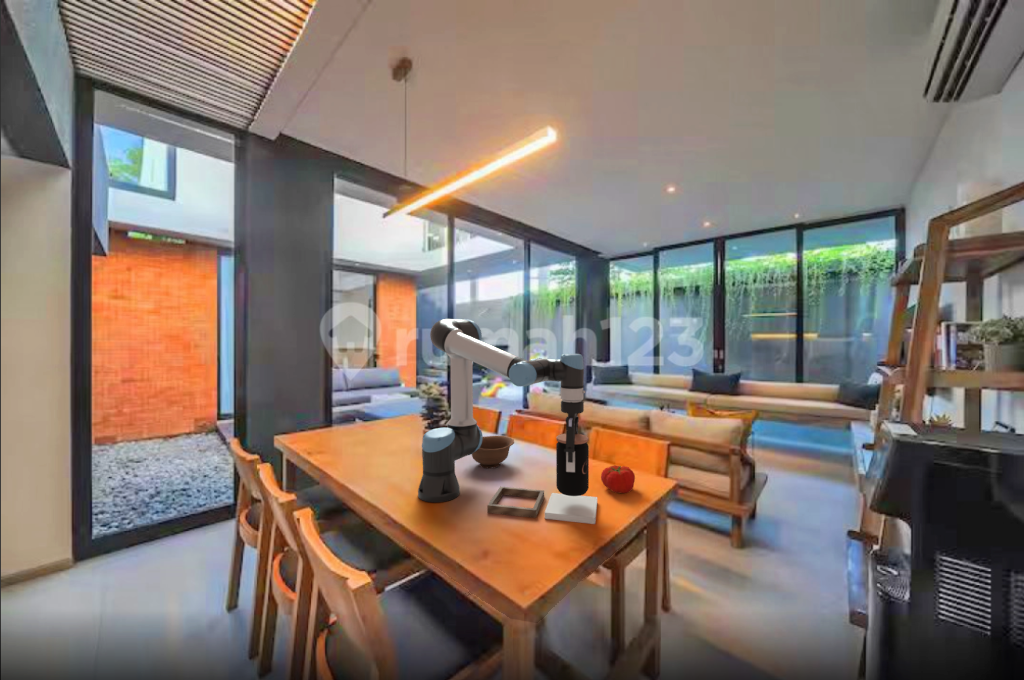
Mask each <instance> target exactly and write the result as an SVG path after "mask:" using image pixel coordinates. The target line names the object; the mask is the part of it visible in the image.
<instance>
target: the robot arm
mask: <svg viewBox="0 0 1024 680" xmlns="http://www.w3.org/2000/svg"><path fill="white" fill-rule="evenodd" d="M429 335H430V336H429V338H430V341H431V343H432V344H433V346H434V347H435V348H436V349H438V350H439V351H442V352H444V353H446V355H447V356H448V357H449V358H450V419H449V420H448V421H447V423H446V426H447V427H438V428H433V429H429V430H428V431H427V432H425V433H424V434H423V436H422V443H421V448H422V449H421V450H422V451H421V453H422V477H421V480H420V483H419V485H418V489H417V497H418V499H420V500H421V501H423V502H426V503H427V502H428V503H444V502H449V501H451V500H455V499H457V498H458V497H459V496H460V493H461V491H460V489H461V488H460V487H461V486H460V484H459V481H458V478H457V475H456V472H455V471H456V466H455V465H456V464H455V463H456V461H457V460H460V459H462V458H465V457H467V456H472V453H474V452H475V451H477V450H478V449H479V448H480V446H481V444H482V439H483V437H484V436H483V432H482V430H481V428H480V426H479V425H478V424H477V423H478V422H477V420H476V419H475V418H474V407H473V406H474V405H473V402H474V398H473V396H474V393H473V391H474V390H473V389H474V388H473V387H474V386H473V385H474V384H473V381H474V380H473V377H474V376H473V374H474V373H473V363H475V364H477V365H480V366H482V367H484V368H487V369H488V370H490V371H492V372H495V373H497V374H499V375H501V376H504V377H506V378H509V380H510V382H511V383H512V385H514V386H516V387H528V386H531V385H535V384H538V383H542V382H560V399H561V401H560V411H561V413H564V414H567V416H566V418H565V430H566V432H565V434H566V449H564V452H566V472H575V450H574V446H575V434H579V420H580V419H579V414H583V412H584V410H585V409H584V408H585V407H584V406H585V405H584V404H585V402H584V401H583V400H584V394H586V390H584V387H585V386H584V376H585V375H584V371H585V370H584V369H585V366H584V365H585V364H584V357H583V355H582V354H580V353H562V354H561V355H560V358H559V359H554V358H553V359H552V358H540V357H539V358H538V357H537V358H531V359H530V360H527V359H524V358H521V357H519V356H517V355H514V354H512V353H510V352H507V351H505V350H502V349H500V348H498V347H495V346H493V345H491V344H488V343H486V342H484V341H482V337H483V334H482V329H481V328H480V326H479V324H477V322H475V321H473V320H471V319H467V318H462V319H461V318H445V319H444V318H443V319H439V320H438V321H436V322H435V323H433V326H432V327H431V329H430V333H429ZM568 447H571V448H568Z"/></svg>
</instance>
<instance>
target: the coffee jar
mask: <svg viewBox="0 0 1024 680" xmlns="http://www.w3.org/2000/svg"><path fill="white" fill-rule="evenodd" d="M556 441H557V443H556V445H555V446H556V447H555V448H556V450H555V451H556V455H555V456H556V469H555V470H556V475H555V476H556V477H555V478H556V481H555V482H556V489H557V490H558V492H559V494H564V495H568V496H585V495H586V494H587V492H588V490H589V489H590V488H589V483H590V482H589V479H590V478H589V475H590V474H589V472H590V471H589V469H590V467H589V461H590V460H589V456H590V455H589V452H590V451H589V450H590V449H589V444H588V443H589V437H588V436H587V435H586V434H581V433H578V434H575V446H574V450H575V472H566V452H564V449H566V433H561V434H559V435H557V436H556ZM568 448H571V447H568Z"/></svg>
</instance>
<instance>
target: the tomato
mask: <svg viewBox="0 0 1024 680" xmlns="http://www.w3.org/2000/svg"><path fill="white" fill-rule="evenodd" d="M600 479H601V483H602V484H603V486H604V487H606V488H608V489H609V490H610V491H612V492H613V493H616V494H617V493H620V494H627V493H630V492H631V491H633V488H634V484H635V481H636V480H635V479H636V476H635V473H634V471H633V470H632V469H631V468H630V467H628V466H625V465H623V466H621V465H611V466H608V467H606V468H604V469H603V470H602V472H601V476H600Z"/></svg>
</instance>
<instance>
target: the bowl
mask: <svg viewBox="0 0 1024 680" xmlns="http://www.w3.org/2000/svg"><path fill="white" fill-rule="evenodd" d="M514 444H515V440H514V439H513V438H512V437H509V436H506V435H489V436H488V435H486V436H485V435H484V436H483V439H482V444H481V446H480V448H479V449H478V450H477V451H475V452H474V453H472V454H471V458H472V459H473V460H474V461H475V462H476V463H478V464H479V466H480V467H481V468H483V469H495V468H498V467H500V465H501V463H503V462H504V461H505V460H506V459H507V458H508V456H509V453H510V449H511V447H512V446H513V445H514Z"/></svg>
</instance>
